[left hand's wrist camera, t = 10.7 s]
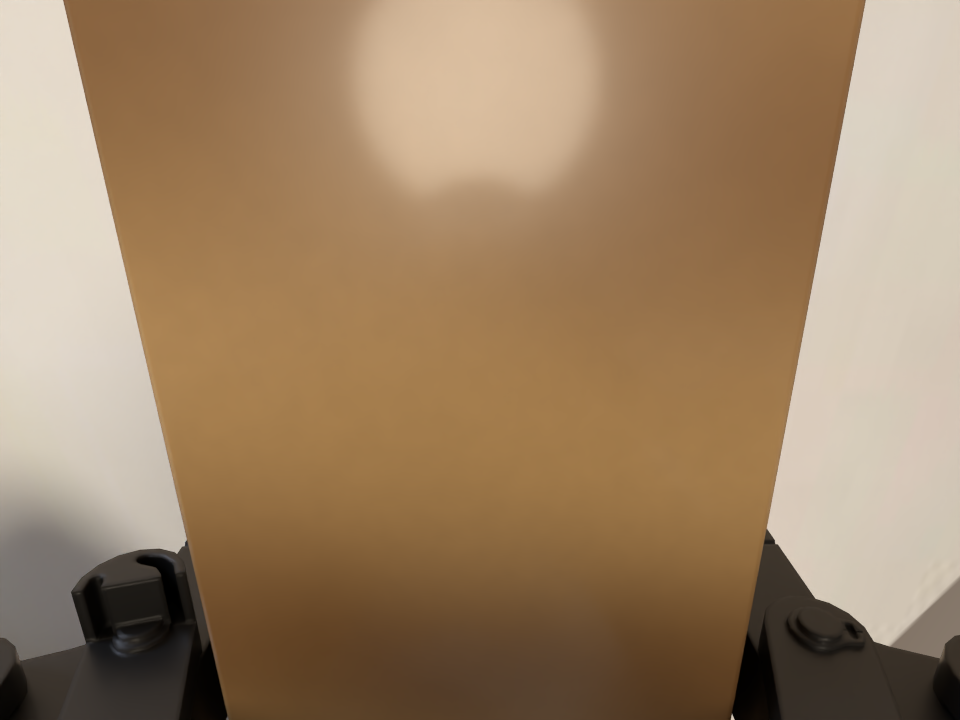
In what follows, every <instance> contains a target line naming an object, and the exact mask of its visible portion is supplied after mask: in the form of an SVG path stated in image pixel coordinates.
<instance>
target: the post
mask: <svg viewBox="0 0 960 720" xmlns="http://www.w3.org/2000/svg"><path fill="white" fill-rule="evenodd" d="M63 1H64V5H65V10H66V14H67V18H68V23H69V27H70V31H71V36H72V40H73V45H74V49H75V53H76V58H77V62H78V66H79V71H80V75H81V79H82V84H83V88H84V92H85V97H86V101H87V106H88V110H89V114H90V119H91V123H92V127H93V132H94V136H95V140H96V145H97V149H98V153H99V158H100V162H101V167H102V171H103V175H104V180H105V184H106V188H107V193H108V197H109V201H110V206H111V210H112V214H113V219H114V223H115V227H116V232H117V236H118V241H119V245H120V249H121V254H122V258H123V262H124V267H125V271H126V275H127V280H128V284H129V288H130V293H131V297H132V302H133V306H134V310H135V315H136V319H137V323H138V328H139V332H140V336H141V341H142V345H143V349H144V354H145V358H146V363H147V367H148V371H149V376H150V380H151V384H152V389H153V393H154V397H155V402H156V406H157V410H158V415H159V419H160V423H161V428H162V432H163V437H164V441H165V445H166V450H167V454H168V458H169V463H170V467H171V471H172V476H173V480H174V484H175V489H176V493H177V498H178V502H179V506H180V511H181V515H182V519H183V524H184V528H185V532H186V537H187V541H188V545H189V550H190V554H191V559H192V563H193V567H194V572H195V576H196V580H197V585H198V589H199V593H200V598H201V602H202V606H203V611H204V615H205V620H206V624H207V628H208V633H209V637H210V641H211V646H212V650H213V654H214V659H215V663H216V667H217V672H218V676H219V680H220V685H221V689H222V694H223V698H224V702H225V707H226V711H227V715H228V720H731V715H732V710H733V704H734V699H735V694H736V688H737V683H738V678H739V672H740V667H741V662H742V656H743V651H744V646H745V641H746V635H747V630H748V625H749V619H750V614H751V609H752V603H753V598H754V593H755V587H756V582H757V577H758V571H759V566H760V561H761V555H762V550H763V545H764V539H765V534H766V529H767V523H768V518H769V513H770V507H771V502H772V497H773V491H774V486H775V481H776V475H777V470H778V465H779V459H780V454H781V449H782V443H783V438H784V433H785V427H786V422H787V417H788V411H789V406H790V401H791V395H792V390H793V385H794V379H795V374H796V369H797V363H798V358H799V353H800V347H801V342H802V337H803V331H804V326H805V321H806V315H807V310H808V305H809V299H810V294H811V289H812V283H813V278H814V273H815V267H816V262H817V257H818V251H819V246H820V241H821V235H822V230H823V225H824V219H825V214H826V209H827V203H828V198H829V193H830V187H831V182H832V177H833V171H834V166H835V161H836V155H837V150H838V145H839V140H840V134H841V129H842V124H843V118H844V113H845V108H846V102H847V97H848V92H849V86H850V81H851V76H852V70H853V65H854V60H855V54H856V49H857V44H858V38H859V33H860V28H861V22H862V17H863V12H864V6H865V1H866V0H63Z"/></svg>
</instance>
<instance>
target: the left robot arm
mask: <svg viewBox="0 0 960 720" xmlns="http://www.w3.org/2000/svg"><path fill="white" fill-rule="evenodd" d="M71 594H72V597H73V600H74V604H75V607H76V610H77V614H78V617H79V620H80V624H81V627H82V630H83V634H84V637H85V640H86V645H83V646H79V647H76V648H73V649H69V650H65V651H61V652H57V653H53V654H48V655H44V656H40V657H36V658H32V659H27V660H23V661H20V659H19V656H18V653H17V651H16V648H15V646H14V645H13V644H11V643H10V642H9V641H8V640H7V639H5V638H0V720H228V715H227V711H226V707H225V702H224V698H223V694H222V689H221V685H220V680H219V676H218V672H217V667H216V663H215V659H214V654H213V650H212V646H211V641H210V637H209V633H208V628H207V624H206V620H205V615H204V611H203V606H202V602H201V598H200V593H199V589H198V585H197V580H196V576H195V572H194V567H193V563H192V559H191V554H190V550H189V545H188V541H186V542H185V547H182V548H181V549H180V551H179V552H178V554H176V553H175V552H171V551H167V550H162V549H147V550H138V551H134V552H130V553H126V554H123V555H119V556H117V557H115V558H113V559H110V560H108V561H106V562H104V563H102V564H100V565H98V566H97V567H95V568H94V569H93V570H91V571H90V572H89V573H87V574H86V575H85V576H84V577H82V578H81V579H80V581H79V582H78V583H77V585H76V586H75V588H74V589H73V590H72V592H71ZM732 714H733V717H734V719H735V720H960V635H958V636H954V637H953V638H952V639H951V640H949V641H948V642H947V643H946V644H945V646H944V649H943V652H942V655H941V657H940V659H939V658H935V657H931V656H927V655H923V654H918V653H914V652H910V651H906V650H901V649H897V648H893V647H889V646H886V645H883V644H879V643H876V642H874V641H873V640H872V638H871V637H870V635H869V633H868V632H867V630H866V629H865V627H864V626H863V625H861V624H860V623H859V622H858V621H857V620H856V619H854V618H853V617H852V616H851V615H850V614H849V613H847V612H845V611H843V610H841V609H839V608H837V607H836V606H834V605H832V604H830V603H827V602H824V601H821V600H817V599H815V598H814V596H813V595H812V593H811V592H810V590H809V589H808V587H807V586H806V585H805V583H804V582H803V580H802V579H801V577H800V576H799V574H798V573H797V572H796V570H795V569H794V567H793V566H792V564H791V563H790V562H789V560H788V559H787V557H786V556H785V554H784V553H783V551H782V550H781V549H780V547H779V546H778V544H775V540H774V538H773V537H772V536H771V534H770V533H769V531H768V530H767V529H766V534H765V539H764V545H763V550H762V555H761V561H760V566H759V571H758V577H757V582H756V587H755V593H754V598H753V603H752V609H751V614H750V619H749V625H748V630H747V635H746V641H745V646H744V651H743V656H742V662H741V667H740V672H739V678H738V683H737V688H736V694H735V699H734V704H733V710H732Z"/></svg>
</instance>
